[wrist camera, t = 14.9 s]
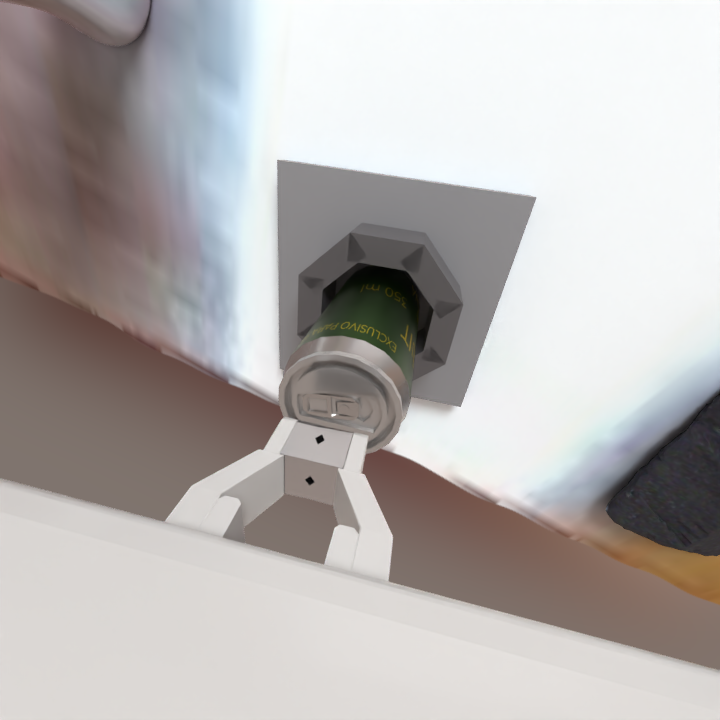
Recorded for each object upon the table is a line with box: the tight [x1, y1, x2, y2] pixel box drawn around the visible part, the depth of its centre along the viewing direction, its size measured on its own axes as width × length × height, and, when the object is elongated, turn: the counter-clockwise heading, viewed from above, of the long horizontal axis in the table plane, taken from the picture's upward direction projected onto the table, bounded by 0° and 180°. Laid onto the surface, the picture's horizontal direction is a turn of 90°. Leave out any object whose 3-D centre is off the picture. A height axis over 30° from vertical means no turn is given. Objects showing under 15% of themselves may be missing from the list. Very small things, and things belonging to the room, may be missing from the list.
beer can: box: [279, 265, 420, 454], centre depth 18 cm, size 5×5×12 cm
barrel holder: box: [277, 160, 536, 407], centre depth 22 cm, size 15×15×5 cm
